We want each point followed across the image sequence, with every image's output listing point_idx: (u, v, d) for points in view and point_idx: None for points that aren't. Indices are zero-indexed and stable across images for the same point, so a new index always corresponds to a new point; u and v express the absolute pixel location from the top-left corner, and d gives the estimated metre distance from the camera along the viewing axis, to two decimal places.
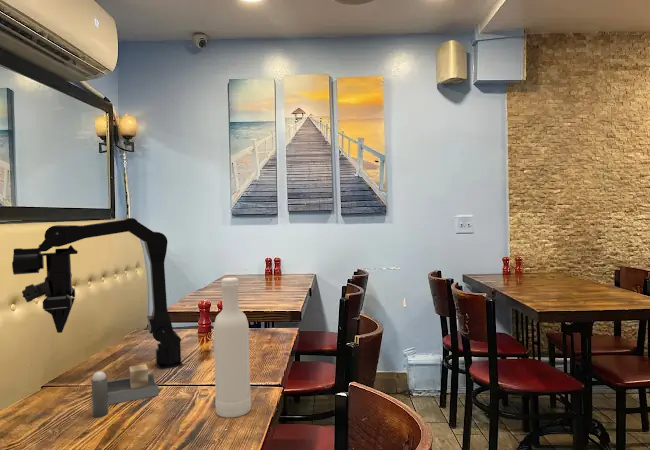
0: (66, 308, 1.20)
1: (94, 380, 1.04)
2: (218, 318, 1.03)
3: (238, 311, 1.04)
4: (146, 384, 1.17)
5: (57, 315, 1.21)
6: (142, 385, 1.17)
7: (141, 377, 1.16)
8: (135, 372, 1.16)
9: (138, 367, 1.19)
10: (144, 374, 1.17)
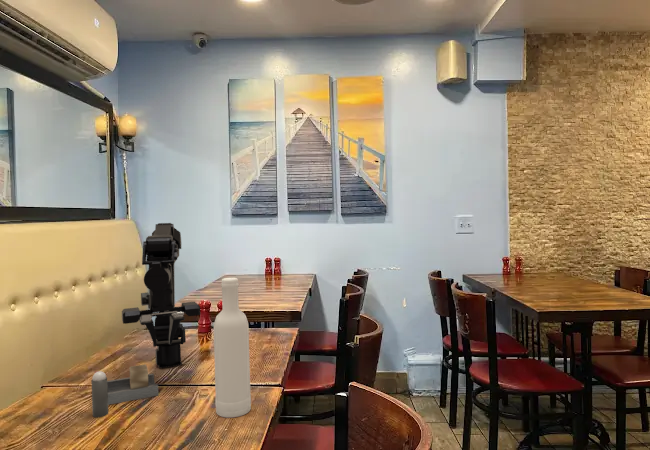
0: (140, 323, 1.16)
1: (94, 380, 1.04)
2: (218, 318, 1.03)
3: (238, 311, 1.04)
4: (146, 384, 1.17)
5: None
6: (142, 385, 1.17)
7: (141, 377, 1.16)
8: (135, 372, 1.16)
9: (138, 367, 1.19)
10: (144, 374, 1.17)
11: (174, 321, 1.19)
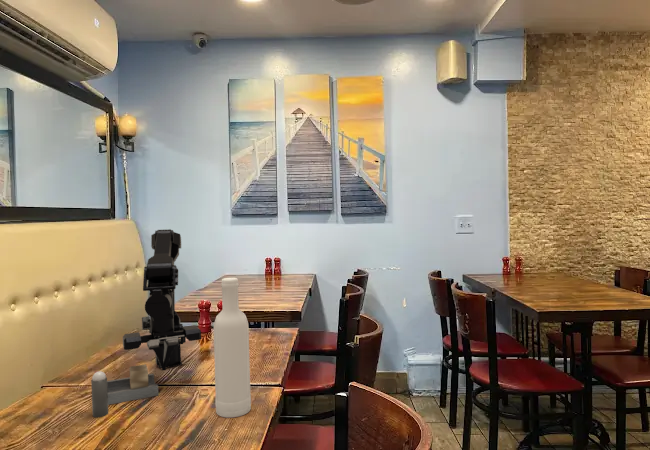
0: (148, 348, 1.17)
1: (94, 380, 1.04)
2: (218, 318, 1.03)
3: (238, 311, 1.04)
4: (146, 384, 1.17)
5: None
6: (142, 385, 1.17)
7: (141, 377, 1.16)
8: (135, 372, 1.16)
9: (138, 367, 1.19)
10: (144, 374, 1.17)
11: (168, 347, 1.19)
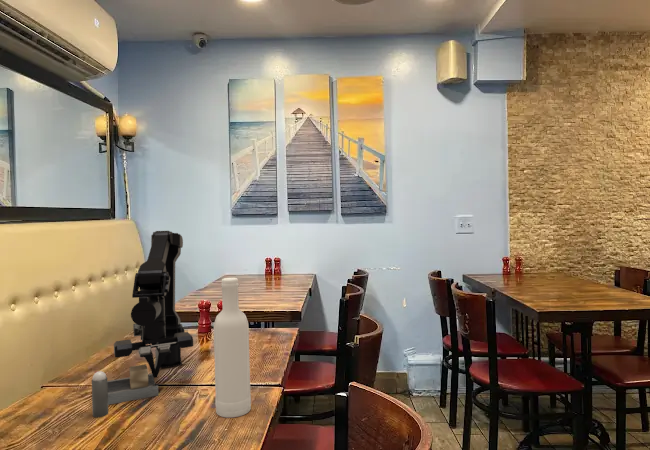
0: (140, 355, 1.16)
1: (94, 380, 1.04)
2: (218, 318, 1.03)
3: (238, 311, 1.04)
4: (146, 384, 1.17)
5: None
6: (142, 385, 1.17)
7: (141, 377, 1.16)
8: (135, 372, 1.16)
9: (138, 367, 1.19)
10: (144, 374, 1.17)
11: (160, 354, 1.18)
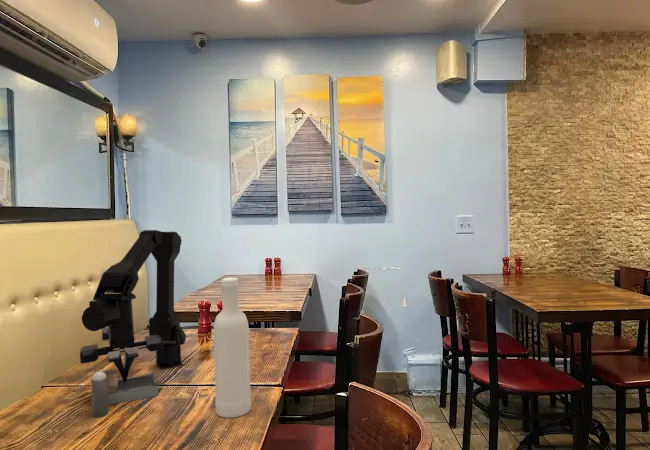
0: (108, 360, 1.13)
1: (94, 380, 1.04)
2: (218, 318, 1.03)
3: (238, 311, 1.04)
4: (115, 389, 1.14)
5: None
6: (111, 390, 1.13)
7: (110, 382, 1.13)
8: None
9: (108, 372, 1.15)
10: (114, 379, 1.14)
11: (127, 359, 1.14)
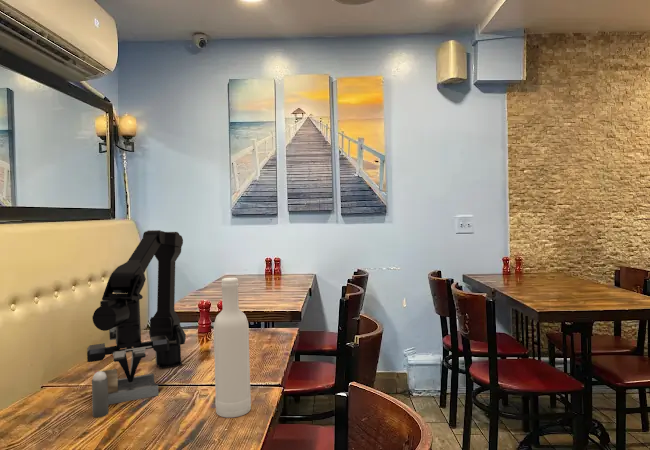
0: None
1: (95, 380, 1.04)
2: (218, 318, 1.03)
3: (238, 311, 1.04)
4: (115, 389, 1.14)
5: None
6: (111, 390, 1.13)
7: (110, 382, 1.13)
8: None
9: (108, 372, 1.15)
10: (114, 379, 1.14)
11: (134, 359, 1.15)
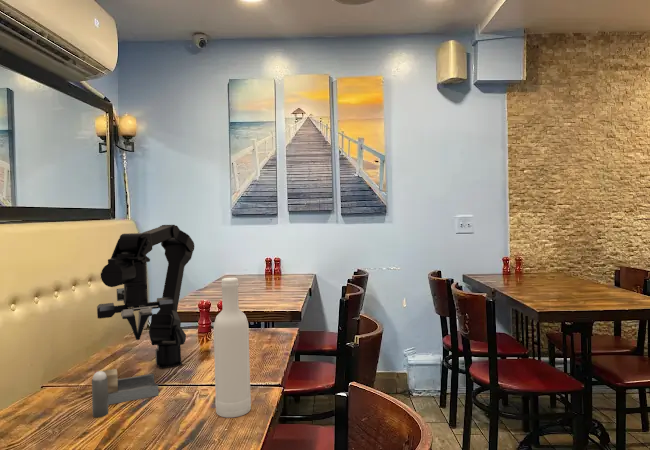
0: (122, 317, 1.20)
1: (95, 380, 1.04)
2: (218, 318, 1.03)
3: (238, 311, 1.04)
4: (115, 389, 1.14)
5: None
6: (111, 390, 1.13)
7: (110, 382, 1.13)
8: None
9: (108, 372, 1.15)
10: (114, 379, 1.14)
11: (142, 317, 1.21)
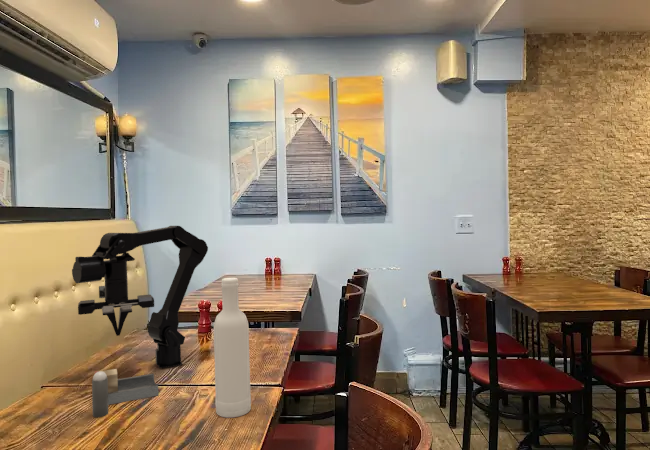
0: None
1: (95, 380, 1.04)
2: (218, 318, 1.03)
3: (238, 311, 1.04)
4: (115, 389, 1.14)
5: None
6: (111, 390, 1.13)
7: (110, 382, 1.13)
8: None
9: (108, 372, 1.15)
10: (114, 379, 1.14)
11: (122, 313, 1.26)
